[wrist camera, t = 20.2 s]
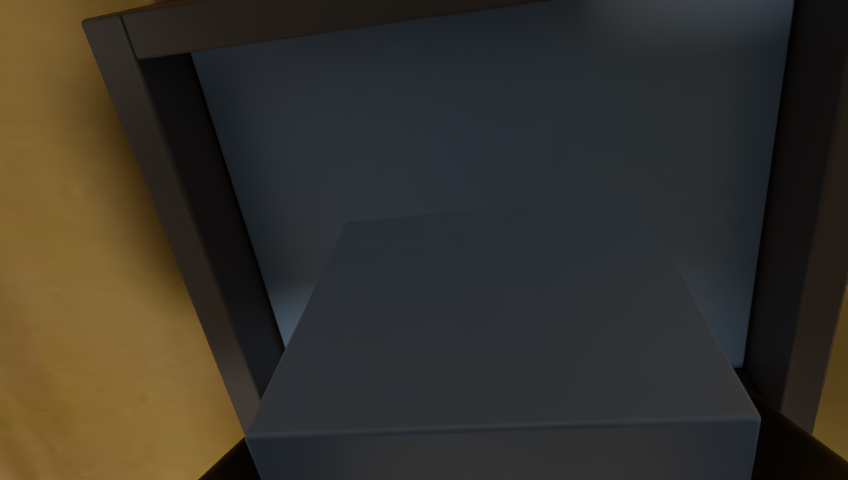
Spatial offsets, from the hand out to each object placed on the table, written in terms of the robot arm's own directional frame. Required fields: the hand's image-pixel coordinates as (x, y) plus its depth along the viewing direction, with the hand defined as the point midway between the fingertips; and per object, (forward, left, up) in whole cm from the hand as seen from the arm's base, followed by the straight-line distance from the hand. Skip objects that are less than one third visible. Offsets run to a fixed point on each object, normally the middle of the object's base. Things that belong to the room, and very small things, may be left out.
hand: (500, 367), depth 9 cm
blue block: (0, 0, -1) cm, 1 cm away
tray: (0, +5, -6) cm, 8 cm away
